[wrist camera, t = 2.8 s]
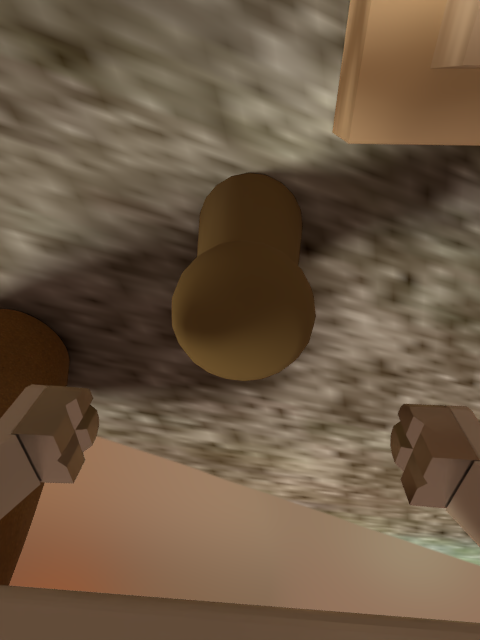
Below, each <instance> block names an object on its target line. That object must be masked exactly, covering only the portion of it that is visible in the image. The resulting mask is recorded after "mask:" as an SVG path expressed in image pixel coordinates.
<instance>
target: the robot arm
mask: <svg viewBox="0 0 480 640" xmlns="http://www.w3.org/2000/svg"><path fill="white" fill-rule="evenodd" d="M92 400H93V396H92V394H91V391H90V389H87V388H78V387H65V386H52V385H50V386H47V385H34V384H32V385H30V386H28V387H26V388H25V389H24V390H23V392H22V393H21V394H20V395H19V396H18V398H17V399H16V400H15V401H14V402H13V404H12V405H11V406H10V407H9V409H8V410H7V411H6V412H5V413H4V415H3V416H2V417H1V418H0V519H2V518H3V517H4V516H5V515H6V514H7V513H8V512H10V511H11V510H12V509H13V508H14V507H15V506H16V505H18V504H19V503H20V502H21V501H22V500H23V499H24V498H25V497H27V496H28V495H29V494H30V493H31V492H32V491H33V490H35V489H36V488H37V487H38V486H39V485H40V484H41V483H40V482H48V483H49V482H50V483H74V481H75V479H76V477H77V475H78V473H79V471H80V469H81V467H82V465H83V463H84V461H85V458H84V455H83V452H84V451H85V450H87V449H88V448H90V447H91V446H92V445H93V443H94V441H95V439H96V436H97V432H98V428H99V416H98V412H97V410H96V409H95V408H94V407H92V406H91V405H90V403H91V402H92ZM398 416H399V419H400V422H399V423H397V424H396V425H394V426H393V429H392V433H391V444H390V446H391V451H392V456H393V459H394V462H395V464H397V465H398V466H399V467H400V468H401V469H402V470H403V471H404V472H403V474H402V477H401V482H402V485H403V488H404V490H405V493H406V496H407V499H408V502H409V505H416V506H427V507H438V508H447V509H446V511H447V512H448V513H449V514H450V515H451V516H452V517H453V519H454V520H455V521H456V522H457V523H458V524H459V525H460V526H461V527H462V528H463V529H464V530H465V532H466V533H467V534H468V535H469V536H470V537H471V538H472V539H473V540H474V541H475V542H476V544H477V545H478V546H479V547H480V423H479V421H478V420H477V418H476V417H475V415H474V413H473V412H472V411H471V409H469V408H468V407H467V406H447V405H445V406H443V405H422V404H403V405H402V406H401V407H400V410H399V412H398ZM0 640H480V623H472V622H461V621H448V620H435V619H422V618H411V617H398V616H385V615H372V614H359V613H347V612H335V611H323V610H309V609H297V608H283V607H272V606H259V605H247V604H235V603H222V602H209V601H197V600H184V599H171V598H159V597H146V596H134V595H121V594H109V593H96V592H82V591H70V590H57V589H45V588H33V587H20V586H7V585H0Z"/></svg>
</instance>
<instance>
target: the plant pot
mask: <svg viewBox="0 0 480 640" xmlns="http://www.w3.org/2000/svg"><path fill="white" fill-rule="evenodd" d="M68 371H69V355H68V352H67V349H66V347H65V345H64V344H63V342H62V341H61V339H60V338H59V337H58V335H57V334H56V333H55V332H54V331H53V330H52V329H50V328H49V327H48V326H47V325H45V324H44V323H43V322H41V321H40V320H38V319H36V318H34V317H32V316H30V315H27V314H25V313H22V312H19V311H15V310H10V309H0V418H1V417H2V416H3V415H4V413H5V412H6V411H7V410H8V409H9V407H10V406H11V405H12V404H13V402H14V401H15V400H16V399H17V398H18V396H19V395H20V394H21V393H22V392H23V390H24V389H25V388H26V387H28V386H30V385H32V384H34V385H47V386H50V385H52V386H65V387H67V380H68ZM40 483H41V484H40V485H39V486H38V487H37V488H36V489H35V490H33V491H32V492H31V493H30V494H29V495H28V496H27V497H25V498H24V499H23V500H22V501H21V502H20V503H19V504H18V505H16V506H15V507H14V508H13V509H12V510H11V511H10V512H8V513H7V514H6V515H5V516H4V517H3V518H2V519H0V585H7V586H9V583H10V580H11V578H12V575H13V572H14V570H15V567H16V564H17V562H18V559H19V556H20V554H21V551H22V548H23V545H24V542H25V540H26V537H27V534H28V531H29V528H30V525H31V522H32V520H33V517H34V513H35V511H36V507H37V504H38V501H39V498H40V495H41V492H42V489H43V486H44V483H45V482H40Z"/></svg>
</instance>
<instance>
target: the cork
mask: <svg viewBox="0 0 480 640" xmlns="http://www.w3.org/2000/svg"><path fill="white" fill-rule="evenodd" d="M302 227H303V226H302V217H301V210H300V208H299V205H298V203H297V201H296V199H295V197H294V195H293V194H292V193H291V192H290V191H289V190H288V189H287V188H286V187H285V186H284V185H283V184H282V183H281V182H279V181H277V180H275V179H273V178H271V177H269V176H267V175H262V174H254V173H245V174H241V175H236V176H231V177H230V178H228V179H226V180H225V181H223V182H221V183H220V184H218V185H216V187H215V188H214V189H213V190H212V191H211V193H210V194H209V195H208V196H207V197H206V199H205V202H204V204H203V207H202V209H201V212H200V220H199V236H198V251H197V257H196V258H195V259H194V260H193V262H192V263H191V264H190V265H189V266H188V267H187V268H186V269H185V270H184V271H183V273H182V275H181V277H180V279H179V281H178V284H177V286H176V289H175V292H174V294H173V297H172V327H173V330H174V332H175V335H176V337H177V340H178V343H179V344H180V346H181V347H182V348H183V350H184V351H185V352H186V353H187V355H188V356H189V357H190V358H191V360H192V361H193V362H194V363H195V364H197V365H198V366H200V367H201V368H203V369H204V370H205V371H207V372H208V373H211V374H214V375H216V376H219V377H222V378H225V379H231V380H239V381H249V380H257V379H263V378H266V377H269V376H271V375H274V374H277V373H279V372H280V371H282V370H283V369H285V368H286V367H287V366H289V365H290V364H291V363H293V362H294V361H295V360H296V359H297V358H298V357H299V355H300V354H301V353H302V351H303V350H304V348H305V347H306V346H307V344H308V343H309V340H310V336H311V333H312V329H313V326H314V321H315V317H316V314H315V305H314V296H313V292H312V289H311V287H310V285H309V283H308V281H307V279H306V277H305V275H304V273H303V271H302V269H300V268H299V267H298V264H299V254H300V245H301V236H302Z"/></svg>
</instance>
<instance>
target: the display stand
mask: <svg viewBox="0 0 480 640" xmlns="http://www.w3.org/2000/svg"><path fill="white" fill-rule="evenodd" d="M333 133H334V134H336V135H337V136H338V137H340V138H341V139H343V140H344V141H346V142H347V143H349V144H414V145H480V0H350V7H349V14H348V21H347V29H346V36H345V43H344V51H343V58H342V66H341V73H340V80H339V88H338V95H337V103H336V110H335V117H334V125H333Z"/></svg>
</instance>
